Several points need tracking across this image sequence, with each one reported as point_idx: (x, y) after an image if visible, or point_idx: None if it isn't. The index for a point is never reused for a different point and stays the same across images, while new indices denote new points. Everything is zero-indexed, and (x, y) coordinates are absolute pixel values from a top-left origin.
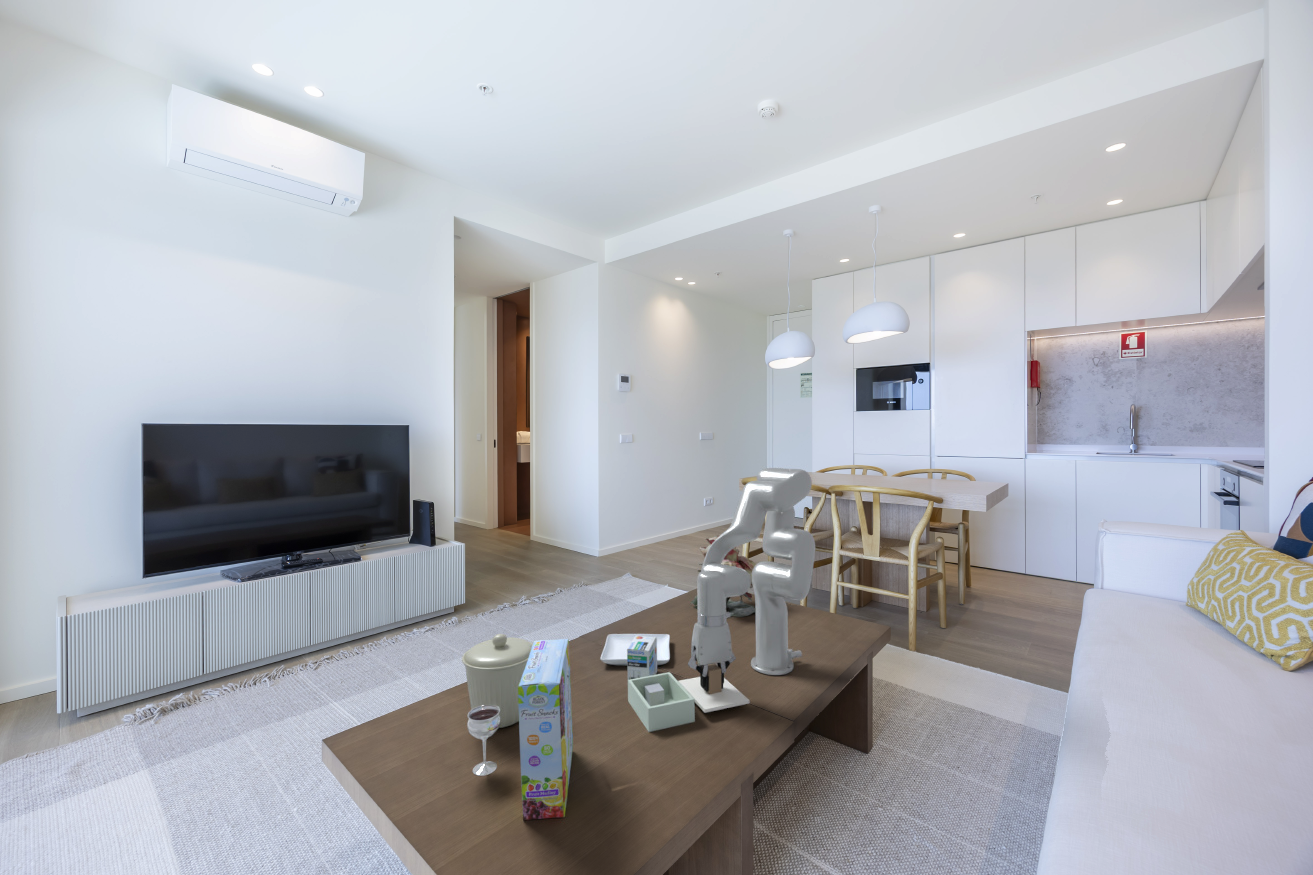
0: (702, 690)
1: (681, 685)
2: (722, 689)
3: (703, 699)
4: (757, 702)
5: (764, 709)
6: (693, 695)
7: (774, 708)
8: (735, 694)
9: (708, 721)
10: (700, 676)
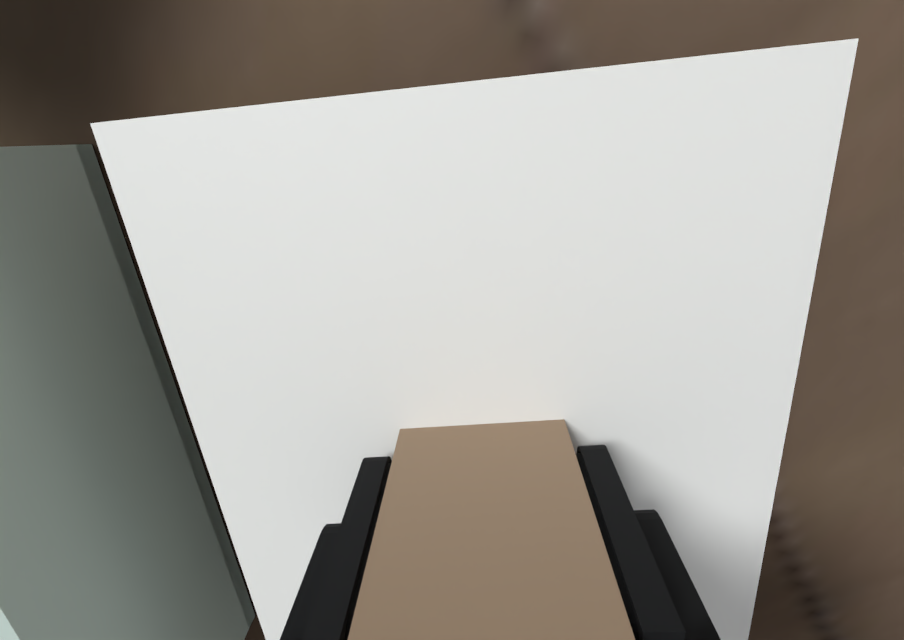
0: None
1: (8, 628)
2: None
3: None
4: (846, 531)
5: (816, 617)
6: (247, 525)
7: (896, 627)
8: None
9: None
10: (286, 633)
